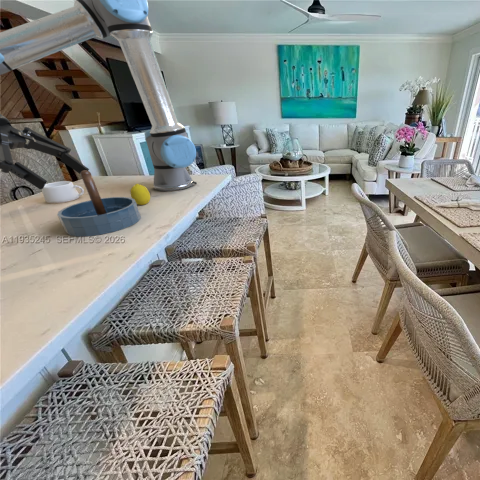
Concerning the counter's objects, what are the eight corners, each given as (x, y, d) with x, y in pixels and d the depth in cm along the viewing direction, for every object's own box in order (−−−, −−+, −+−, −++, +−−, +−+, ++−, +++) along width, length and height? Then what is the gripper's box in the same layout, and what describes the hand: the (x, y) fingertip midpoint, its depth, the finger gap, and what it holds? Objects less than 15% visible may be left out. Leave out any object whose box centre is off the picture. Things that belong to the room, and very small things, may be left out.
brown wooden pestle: (117, 217, 81) (98, 166, 74) (118, 223, 77) (98, 170, 70) (92, 222, 78) (70, 169, 71) (92, 229, 74) (68, 173, 67)
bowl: (138, 210, 89) (132, 193, 86) (145, 228, 76) (138, 208, 73) (69, 223, 79) (60, 204, 76) (64, 245, 67) (53, 223, 64)
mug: (40, 205, 94) (32, 188, 91) (54, 197, 102) (46, 182, 99) (81, 201, 97) (74, 185, 94) (91, 194, 105) (85, 179, 103)
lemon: (150, 202, 96) (143, 180, 93) (155, 206, 93) (148, 183, 89) (133, 206, 93) (125, 183, 89) (137, 210, 89) (129, 186, 86)
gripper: (22, 125, 76) (95, 177, 83) (-98, 133, 54) (15, 203, 61) (32, 105, 74) (105, 159, 81) (-90, 104, 52) (26, 180, 59)
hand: (66, 178), depth 71 cm, fingers open, 13 cm apart
